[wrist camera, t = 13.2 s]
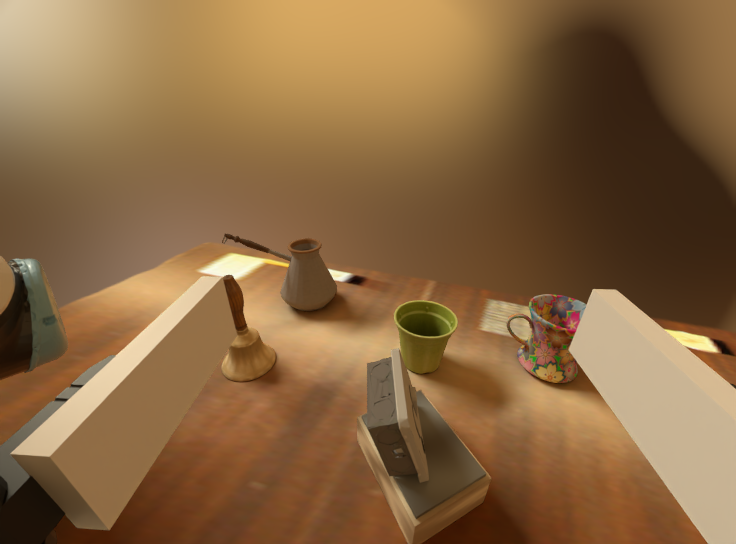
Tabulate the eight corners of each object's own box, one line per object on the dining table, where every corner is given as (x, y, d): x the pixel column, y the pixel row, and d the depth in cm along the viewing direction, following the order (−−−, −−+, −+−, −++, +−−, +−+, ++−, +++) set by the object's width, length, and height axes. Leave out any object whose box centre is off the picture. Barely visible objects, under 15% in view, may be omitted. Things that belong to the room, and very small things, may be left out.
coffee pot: (340, 286, 71) (337, 224, 64) (334, 317, 61) (329, 247, 54) (247, 285, 72) (233, 223, 64) (225, 315, 61) (207, 245, 54)
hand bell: (276, 376, 48) (258, 287, 40) (217, 386, 46) (188, 295, 39) (276, 341, 55) (261, 259, 47) (225, 348, 53) (202, 265, 46)
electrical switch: (430, 486, 30) (430, 422, 25) (375, 489, 30) (366, 426, 25) (416, 403, 38) (414, 344, 33) (373, 405, 38) (366, 347, 34)
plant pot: (407, 334, 57) (410, 293, 52) (458, 354, 52) (466, 311, 48) (381, 366, 50) (382, 323, 45) (437, 392, 45) (444, 346, 41)
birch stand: (357, 441, 39) (356, 414, 36) (418, 412, 42) (421, 386, 40) (411, 550, 29) (415, 523, 27) (483, 502, 33) (492, 475, 30)
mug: (565, 349, 53) (586, 296, 48) (589, 393, 45) (617, 335, 40) (491, 341, 55) (504, 289, 50) (502, 382, 47) (518, 325, 42)
